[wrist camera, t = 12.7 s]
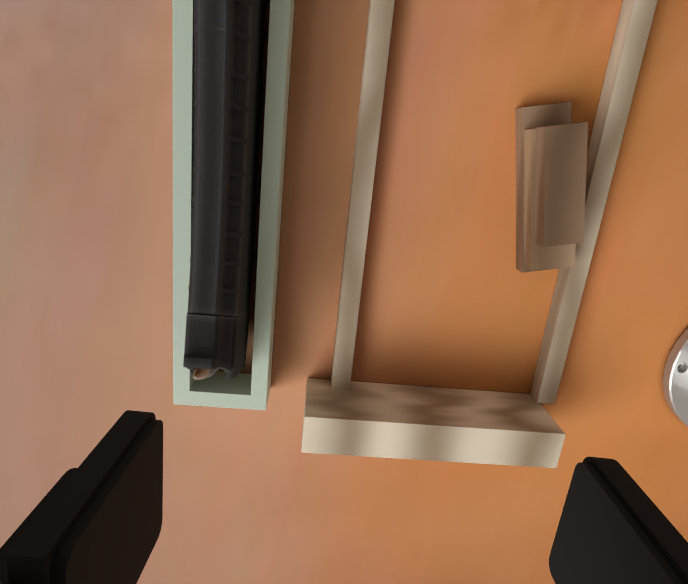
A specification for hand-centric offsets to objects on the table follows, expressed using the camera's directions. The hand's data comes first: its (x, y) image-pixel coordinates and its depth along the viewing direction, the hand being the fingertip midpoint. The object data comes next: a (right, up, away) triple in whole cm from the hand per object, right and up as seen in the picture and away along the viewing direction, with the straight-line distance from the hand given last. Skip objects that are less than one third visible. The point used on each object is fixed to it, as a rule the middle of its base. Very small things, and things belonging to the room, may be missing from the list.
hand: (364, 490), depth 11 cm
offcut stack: (+14, +12, +26) cm, 32 cm away
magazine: (-8, +14, +25) cm, 30 cm away
